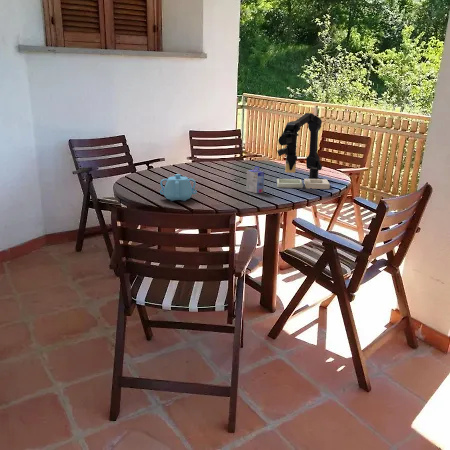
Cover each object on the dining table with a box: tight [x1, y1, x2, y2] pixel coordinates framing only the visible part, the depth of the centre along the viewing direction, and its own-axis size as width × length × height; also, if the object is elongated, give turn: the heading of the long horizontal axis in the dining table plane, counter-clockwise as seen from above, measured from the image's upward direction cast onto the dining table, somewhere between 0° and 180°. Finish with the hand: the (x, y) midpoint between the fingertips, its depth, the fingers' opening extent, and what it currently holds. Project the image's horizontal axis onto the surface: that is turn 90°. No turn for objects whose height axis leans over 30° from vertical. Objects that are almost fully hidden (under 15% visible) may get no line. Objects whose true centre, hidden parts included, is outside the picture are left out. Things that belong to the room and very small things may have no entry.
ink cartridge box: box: [245, 165, 265, 194], centre depth 259 cm, size 10×6×14 cm, turn 38°
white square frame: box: [303, 178, 331, 190], centre depth 276 cm, size 14×14×3 cm
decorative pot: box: [159, 173, 198, 202], centre depth 242 cm, size 16×16×14 cm
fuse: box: [284, 159, 297, 174], centre depth 274 cm, size 4×6×7 cm
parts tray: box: [276, 178, 304, 189], centre depth 277 cm, size 14×15×2 cm
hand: (290, 169), depth 275 cm, fingers closed on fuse, 4 cm apart
